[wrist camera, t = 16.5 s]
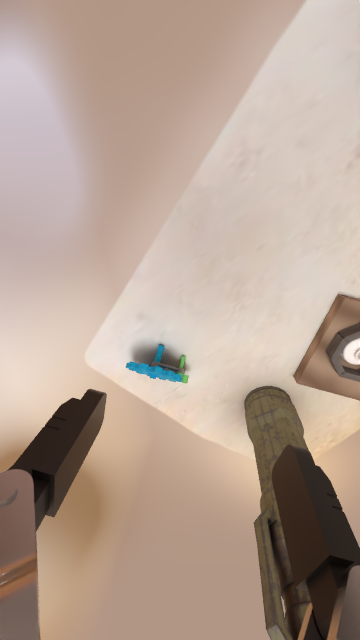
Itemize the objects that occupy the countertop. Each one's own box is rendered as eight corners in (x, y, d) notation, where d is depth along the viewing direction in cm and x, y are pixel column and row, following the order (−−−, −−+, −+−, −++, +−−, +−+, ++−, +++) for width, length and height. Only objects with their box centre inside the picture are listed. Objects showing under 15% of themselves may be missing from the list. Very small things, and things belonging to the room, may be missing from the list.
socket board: (338, 294, 36) (352, 303, 33) (416, 314, 36) (438, 325, 33) (293, 376, 43) (300, 391, 40) (358, 393, 43) (372, 410, 39)
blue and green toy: (124, 372, 46) (125, 367, 36) (133, 343, 48) (136, 331, 38) (178, 387, 47) (193, 386, 38) (185, 358, 49) (201, 350, 40)
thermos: (243, 379, 45) (316, 780, 13) (306, 393, 44) (539, 845, 13) (230, 413, 49) (263, 790, 17) (288, 427, 48) (434, 841, 16)
